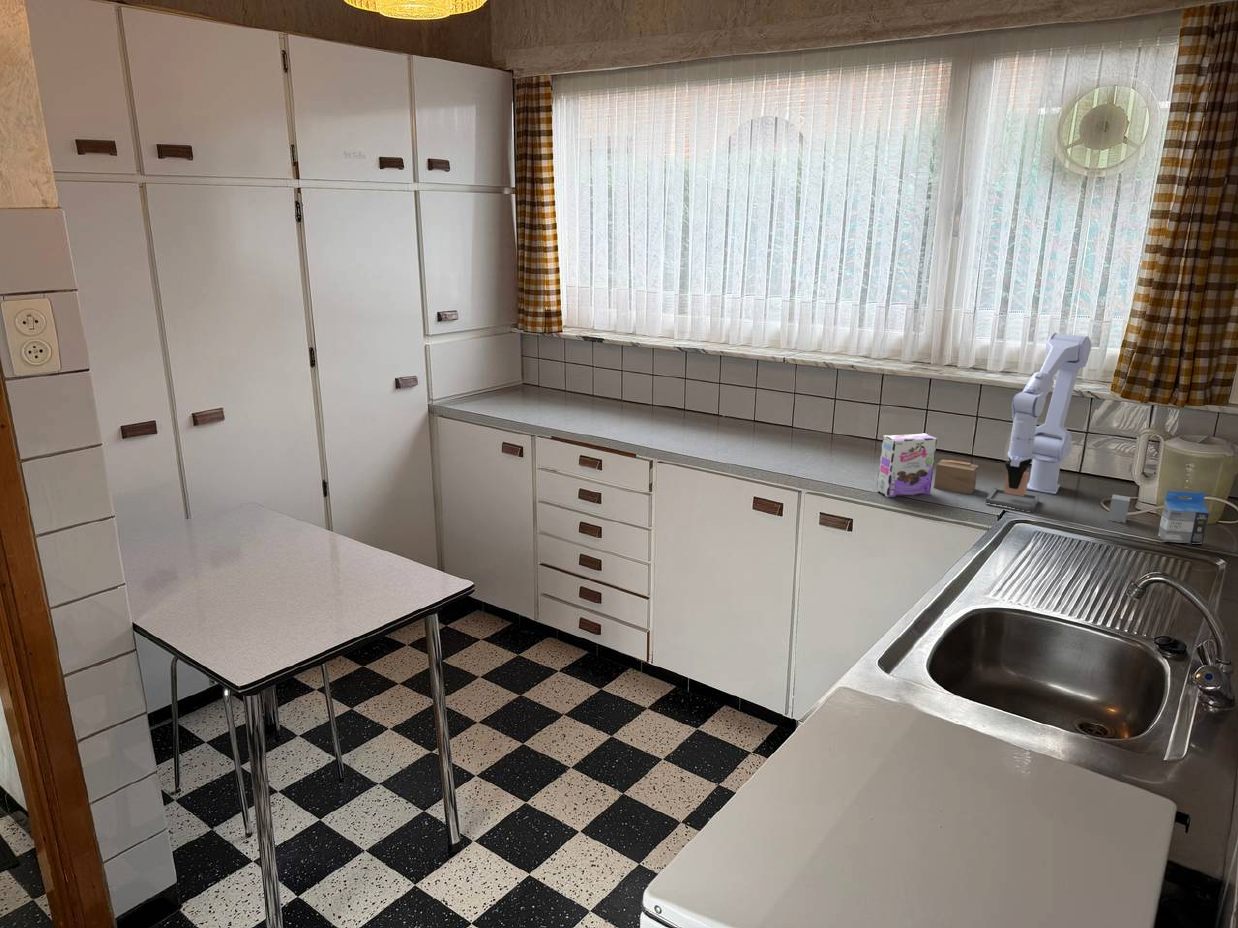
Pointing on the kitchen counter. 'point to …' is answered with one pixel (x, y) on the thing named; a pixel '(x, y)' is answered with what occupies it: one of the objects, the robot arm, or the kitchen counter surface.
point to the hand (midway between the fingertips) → (1014, 486)
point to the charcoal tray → (1013, 500)
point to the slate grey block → (1118, 508)
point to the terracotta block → (1022, 486)
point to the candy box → (906, 465)
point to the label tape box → (1184, 517)
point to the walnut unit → (956, 476)
